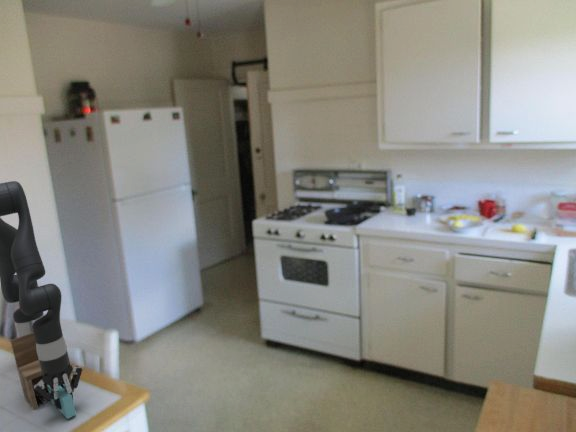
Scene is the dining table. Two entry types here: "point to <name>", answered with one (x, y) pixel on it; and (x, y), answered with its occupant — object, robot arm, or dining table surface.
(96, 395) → the dining table surface
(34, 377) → the walnut shelf
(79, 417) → the dining table surface
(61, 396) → the panel
